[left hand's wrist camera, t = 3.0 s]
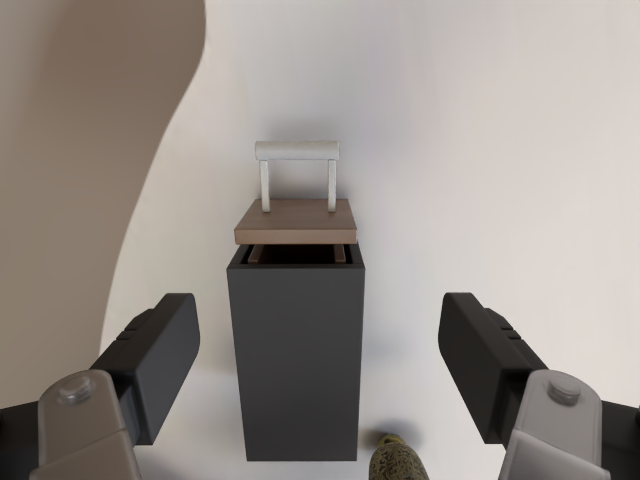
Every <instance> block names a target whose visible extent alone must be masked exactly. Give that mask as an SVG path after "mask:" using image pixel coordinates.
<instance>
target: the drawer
mask: <svg viewBox="0 0 640 480" xmlns="http://www.w3.org/2000/svg"><path fill="white" fill-rule="evenodd" d="M255 154H256V159H257V160H260V161H259V163H260V179H261V195H262V199H256V200H255V201H254V202H253V204H252V205H251V207H250V208H249V209H248V211H247V212H246V214H245V215H244V217H243V218H242V219H241V221H240V222H239V224H238V225H237V226H236V228H235V229H234V232H235V243H236V244H255V246H254V248H253V251H252V253H251V255H250V257H249V259H248V264H346V259H345V253H344V247H343V244H356V242H357V228H356V225H355V221H354V218H353V215H352V212H351V208H350V205H349V202H348V199H335V196H336V160H338V158H339V142H338V141H256V144H255ZM268 160H328V199H270V193H269V175H268Z"/></svg>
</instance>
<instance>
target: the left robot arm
mask: <svg viewBox="0 0 640 480" xmlns="http://www.w3.org/2000/svg"><path fill="white" fill-rule="evenodd" d="M438 344H439V349H440V353H441V355H442V357H443V359H444V361H445V363H446V365H447V367H448V369H449V371H450V374H451V376H452V378H453V380H454V382H455V384H456V386H457V388H458V390H459V392H460V394H461V396H462V398H463V400H464V402H465V404H466V406H467V408H468V410H469V412H470V414H471V416H472V418H473V421H474V423H475V425H476V427H477V429H478V431H479V433H480V435H481V437H482V439H483V441H484V443H485V444H503V446H504V448H505V450H506V454H505V457H504V461H503V464H502V468H501V471H500V474H499V478H498V480H640V406H639V408H634V407H630V406H625V405H621V404H616V403H612V402H607V401H603V400H601V399H600V397H599V396H598V394H597V393H596V392H595V391H594V390H593V389H592V388H591V387H590V386H588V385H587V384H586V383H584V382H583V381H581V380H579V379H577V378H575V377H573V376H571V375H569V374H566V373H563V372H560V371H555V370H549V369H548V367H547V366H546V365H545V364H544V363H543V362H542V361H541V359H540V358H539V357H538V356H537V355H536V354H535V353H534V351H533V350H532V349H531V348H530V347H529V346H528V344H527V343H526V342H525V341H524V340H521V336H520V335H519V334H518V333H517V332H516V331H515V330H513V327H512V326H511V325H510V324H509V323H508V322H507V320H506V319H505V318H504V317H502V316H501V315H499V314H498V313H496V312H494V311H493V310H491V309H490V308H484V307H483V306H482V305H481V304H480V303H479V301H478V300H477V299H476V298H475V296H474V295H473V294H472V293H446V294H445V295H444V298H443V304H442V311H441V318H440V325H439V332H438ZM199 346H200V331H199V324H198V317H197V310H196V303H195V298H194V295H193V294H192V293H167V294H166V295H165V296H164V297H163V298H162V299H161V301H160V302H159V303H158V304H157V305H156V307H155V308H154V309H148V310H146V311H144V312H143V313H141V314H140V315H138V316H136V317H135V318H134V319H133V320H132V321H131V322H130V323H129V324H128V325H127V326H126V328H125V329H124V331H122V332H121V333H120V334H119V336H118V337H117V338H116V340H114V341H113V342H112V343H111V345H110V346H109V347H108V348H107V349H106V350H105V351H104V353H103V354H102V355H101V356H100V357H99V358H98V359H97V361H96V362H95V363H94V364H93V365H92V366H91V367H90V368H89V370H85V371H80V372H77V373H74V374H71V375H69V376H67V377H65V378H63V379H61V380H59V381H57V382H56V383H54V384H53V385H52V386H50V387H49V388H48V389H47V390H46V391H45V392H44V393H43V394H42V396H41V397H40V399H39V401H35V402H31V403H26V404H22V405H18V406H13V407H9V408H4V409H0V480H142V478H141V474H140V471H139V468H138V464H137V461H136V457H135V454H134V451H133V448H134V446H135V445H153V443H154V441H155V439H156V437H157V435H158V433H159V431H160V429H161V427H162V425H163V423H164V421H165V419H166V417H167V415H168V413H169V411H170V409H171V407H172V405H173V403H174V401H175V399H176V397H177V395H178V392H179V390H180V388H181V386H182V384H183V382H184V380H185V378H186V376H187V374H188V372H189V370H190V368H191V366H192V364H193V362H194V360H195V358H196V356H197V354H198V351H199Z"/></svg>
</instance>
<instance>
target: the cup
mask: <svg viewBox="0 0 640 480" xmlns="http://www.w3.org/2000/svg"><path fill="white" fill-rule="evenodd" d="M369 480H429V477H428V475H427V473H426V470H425V468H424V466H423V464H422V462H421V460H420V458H419V456H418V455H417V454H416V452H415V451H414V450H413V449H412V448H410V447H409V446H407V445H406V444H405V442H404V441H403V439H402V438H401V437H399V436H398V435H395V434H388V435H385V436H383V437H381V438H380V440H379V441H378V444H377V450H376V451H375V452H374V454H373V456H372V458H371V461H370V466H369Z"/></svg>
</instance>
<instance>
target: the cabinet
mask: <svg viewBox="0 0 640 480" xmlns="http://www.w3.org/2000/svg"><path fill="white" fill-rule="evenodd" d="M254 246H255V244H241V245H240V247H239V248H238V250H237V252H236V254H235V255H234V257H233V259H232V260H231V262H230V264H229V265H228V267H227V269H226V270H227V279H228V289H229V298H230V307H231V317H232V326H233V336H234V345H235V354H236V364H237V373H238V382H239V392H240V401H241V411H242V420H243V429H244V439H245V448H246V458H247V461H357V442H358V420H359V397H360V375H361V353H362V330H363V308H364V286H365V266H364V263H363V259H362V256H361V252H360V248H359V245H358V241H357V242H356V244H343V247H344V253H345V259H346V264H248V259H249V257H250V255H251V253H252V251H253V248H254Z"/></svg>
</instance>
